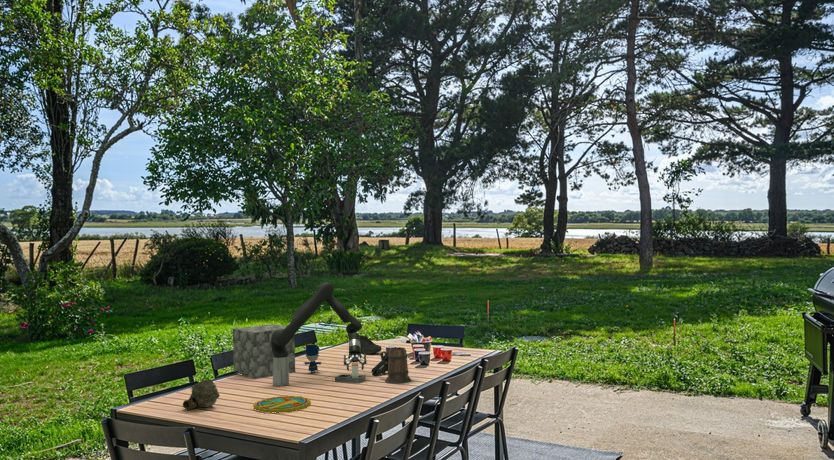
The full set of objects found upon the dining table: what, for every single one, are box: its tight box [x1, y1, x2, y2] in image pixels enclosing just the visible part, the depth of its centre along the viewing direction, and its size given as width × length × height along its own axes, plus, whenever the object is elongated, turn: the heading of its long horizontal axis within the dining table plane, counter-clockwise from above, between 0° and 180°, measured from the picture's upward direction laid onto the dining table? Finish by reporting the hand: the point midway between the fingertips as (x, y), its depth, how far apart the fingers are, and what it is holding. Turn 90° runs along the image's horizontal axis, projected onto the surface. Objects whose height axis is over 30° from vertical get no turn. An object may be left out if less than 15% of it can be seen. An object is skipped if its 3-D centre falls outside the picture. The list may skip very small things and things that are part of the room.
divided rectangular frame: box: [334, 373, 366, 384], centre depth 410 cm, size 8×17×3 cm, turn 66°
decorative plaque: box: [252, 395, 311, 414], centre depth 352 cm, size 30×3×30 cm
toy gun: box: [371, 351, 389, 377], centre depth 430 cm, size 22×5×15 cm
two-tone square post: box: [351, 362, 360, 378], centre depth 408 cm, size 4×4×11 cm
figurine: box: [303, 343, 323, 374], centre depth 438 cm, size 13×9×20 cm
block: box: [232, 323, 296, 380], centre depth 445 cm, size 30×30×30 cm
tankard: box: [377, 346, 413, 385], centre depth 409 cm, size 24×17×20 cm
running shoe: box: [359, 335, 382, 355], centre depth 510 cm, size 11×30×14 cm, turn 52°
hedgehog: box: [182, 378, 220, 411], centre depth 353 cm, size 18×14×15 cm
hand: (355, 369), depth 407 cm, fingers open, 8 cm apart
